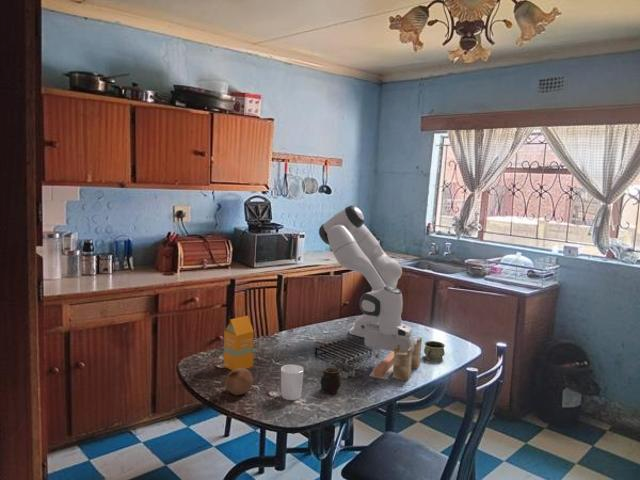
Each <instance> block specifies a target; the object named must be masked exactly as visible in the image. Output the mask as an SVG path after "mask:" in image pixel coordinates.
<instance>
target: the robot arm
mask: <svg viewBox="0 0 640 480" xmlns="http://www.w3.org/2000/svg"><path fill="white" fill-rule="evenodd" d="M318 235H319V237H320V239H321V240H322V242H323V243H325V244H326V245H329V246H330V249H331V250H332V251H331V252H332V254H333V256H334V258H335V260H336V262H337V263H338V264H339V265H340V267H341V268H344V269H346V270H350V271H352V272H353V271H354V272H356V273H359V274H360V275H362V276H363V277H364V278H365V279H366V280H367V282H368V283H369V285H370V287H371V291H368V292H366V293H363V294H362V295H361V296H360V298H359V308H360V310H361V312H362V313H363V314H362V315H360V316H359V317H357V319H355V321H354V325H353V326H352V327H351V328H350V329H349V331H348V333H349V335H352V336H357V337H360V338H364V341H363V343H364V345H365V347H369V348H372V349H371V350H372V351H373V353H374V359H379V358H380V353H379V352H378V351H377V349H380V350H385V351H391V352H392V351H394V348H395V347H396V346H397V345H400V350H401V351H406V352H407V350H408V349H409V348H410V347H412V348H413V349H412V353H413V351H414V341H415V337H414V335H413V330H414V329H413V328H412V327H411V326H409V325H407V324H405V323H403V322H402V317H401V316H402V313H403V294H402V291H401V289H399V288H398V287H397V285H398V281H399V279H401V277H402V275H403V268H402V266H401V264H400V263H399V262H398V261H397V260H396V259H394V258H392V257H390V256H389V255H387V254H386V252H385V251H384V249H383V248H382V246H381V245H380V242H379V241H378V239H377V238H376V237H375V236H374V234H372V232H371V231H370V230H369V228H368V227H367V226H366V225H365V217H364V213H363V212H362V210H361V209H360V208H359V207H358V206H357V205H353V204H352V205H349V206H346V207H345V208H344V209H343V210H340V211H339V212H337V213H335V214H334V215H333V216H332V217H330V218H329V219H328V220H327V221H325V223H324V222H323V224H322V225H320V226H319V229H318Z"/></svg>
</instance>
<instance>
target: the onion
mask: <svg viewBox="0 0 640 480" xmlns="http://www.w3.org/2000/svg"><path fill="white" fill-rule="evenodd" d="M253 383H254V377H253V375H252V373H251V371H250V370H249V369H248V368H246V369H245V368H237V369H234V370H231V371H230V372H228V373H227V375H226V378H225V387H226V388H227V391H228V392H229V393H231V394H232V395H235V396H240V395H243V394H246V393H247V392H249V390H250V389H251V388H252V386H253Z"/></svg>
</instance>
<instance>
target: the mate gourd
mask: <svg viewBox="0 0 640 480" xmlns="http://www.w3.org/2000/svg"><path fill="white" fill-rule="evenodd" d="M341 366H342V364H341V365H340V366H339V367H338V368H333V367H330V366H328V367H325V368H323V369H322V370H323V372H322V374H323V375H322V376H321V378H320V381H319V383H320V388H321V390H322V391H323V392H324V393H326V394H335V393H337V392H338V391H339V389H340V387H341V380H340V379H341V378H340V375H338V374H339V370H338V369H339V368H340V367H341Z"/></svg>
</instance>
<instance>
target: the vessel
mask: <svg viewBox="0 0 640 480" xmlns="http://www.w3.org/2000/svg"><path fill="white" fill-rule="evenodd" d="M445 347H446V345H445V344H444V343H443V342H440V341H437V340H429V341H427V340H426V341H425V342H424V349H423V353H424V354H425V356H424V358H425V359H426V360H428V361H432V362H442V361H443V358H444V356H445V354H446V353H445V349H444V348H445Z"/></svg>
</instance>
